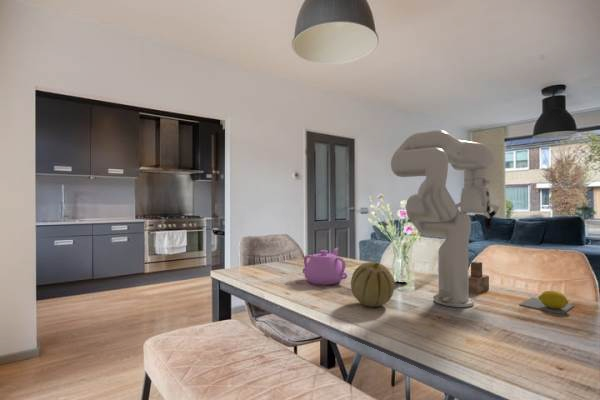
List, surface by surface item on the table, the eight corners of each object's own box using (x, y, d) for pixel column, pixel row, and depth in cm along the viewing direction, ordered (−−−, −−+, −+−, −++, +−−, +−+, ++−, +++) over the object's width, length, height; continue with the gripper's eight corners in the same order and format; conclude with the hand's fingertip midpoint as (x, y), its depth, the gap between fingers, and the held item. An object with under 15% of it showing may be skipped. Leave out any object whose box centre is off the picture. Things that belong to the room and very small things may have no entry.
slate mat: (563, 314, 107) (562, 313, 107) (519, 305, 116) (519, 304, 116) (573, 306, 115) (573, 305, 115) (532, 298, 124) (531, 297, 124)
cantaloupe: (366, 296, 128) (366, 256, 128) (403, 305, 118) (402, 261, 118) (341, 305, 118) (341, 261, 118) (378, 316, 107) (378, 267, 107)
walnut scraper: (476, 287, 141) (476, 259, 141) (489, 289, 137) (488, 261, 137) (464, 291, 135) (463, 262, 135) (477, 293, 131) (476, 264, 131)
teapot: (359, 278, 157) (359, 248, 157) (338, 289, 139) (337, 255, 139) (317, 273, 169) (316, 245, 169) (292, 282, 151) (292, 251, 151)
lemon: (540, 306, 116) (570, 311, 110) (535, 305, 113) (566, 310, 107) (541, 289, 117) (570, 293, 111) (536, 288, 114) (566, 292, 108)
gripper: (502, 183, 131) (502, 228, 131) (457, 185, 145) (458, 226, 145) (494, 182, 127) (494, 229, 127) (448, 184, 140) (448, 227, 140)
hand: (475, 227), depth 136 cm, fingers open, 9 cm apart
